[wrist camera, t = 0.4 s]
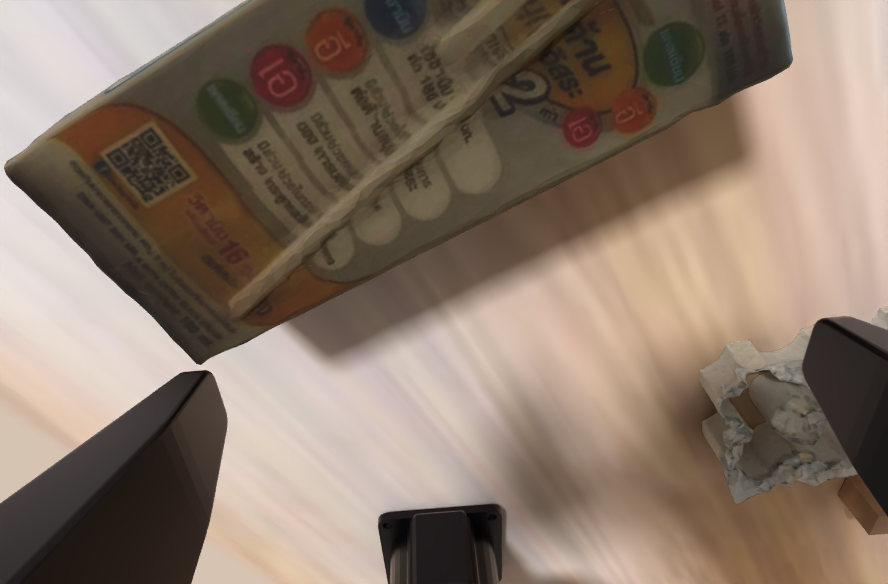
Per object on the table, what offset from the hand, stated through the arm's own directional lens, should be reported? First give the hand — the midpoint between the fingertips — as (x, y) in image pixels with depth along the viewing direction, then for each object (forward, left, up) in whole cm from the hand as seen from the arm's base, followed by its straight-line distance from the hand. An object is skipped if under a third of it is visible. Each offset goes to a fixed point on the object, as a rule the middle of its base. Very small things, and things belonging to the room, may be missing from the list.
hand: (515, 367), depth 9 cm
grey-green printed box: (+2, +2, -14) cm, 14 cm away
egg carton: (-13, -16, -14) cm, 25 cm away
